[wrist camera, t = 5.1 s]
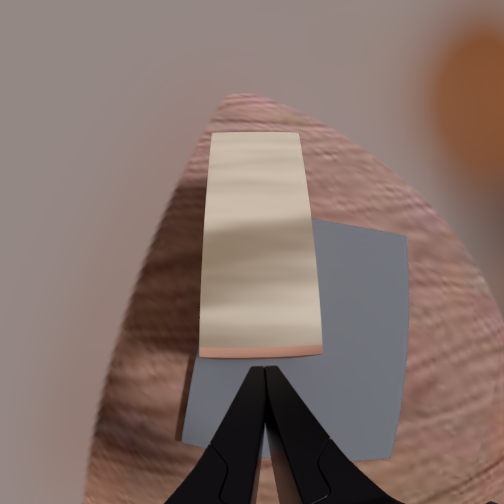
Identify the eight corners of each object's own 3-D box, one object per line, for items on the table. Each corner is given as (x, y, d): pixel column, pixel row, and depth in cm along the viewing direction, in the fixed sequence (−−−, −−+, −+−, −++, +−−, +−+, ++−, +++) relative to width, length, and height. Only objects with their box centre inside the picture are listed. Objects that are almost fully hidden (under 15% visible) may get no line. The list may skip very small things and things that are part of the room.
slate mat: (403, 238, 19) (406, 236, 19) (387, 456, 13) (390, 457, 13) (228, 209, 20) (227, 206, 19) (182, 441, 14) (181, 442, 13)
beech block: (323, 354, 11) (298, 132, 15) (199, 356, 11) (212, 133, 15) (301, 357, 15) (289, 182, 20) (214, 359, 15) (219, 182, 20)
